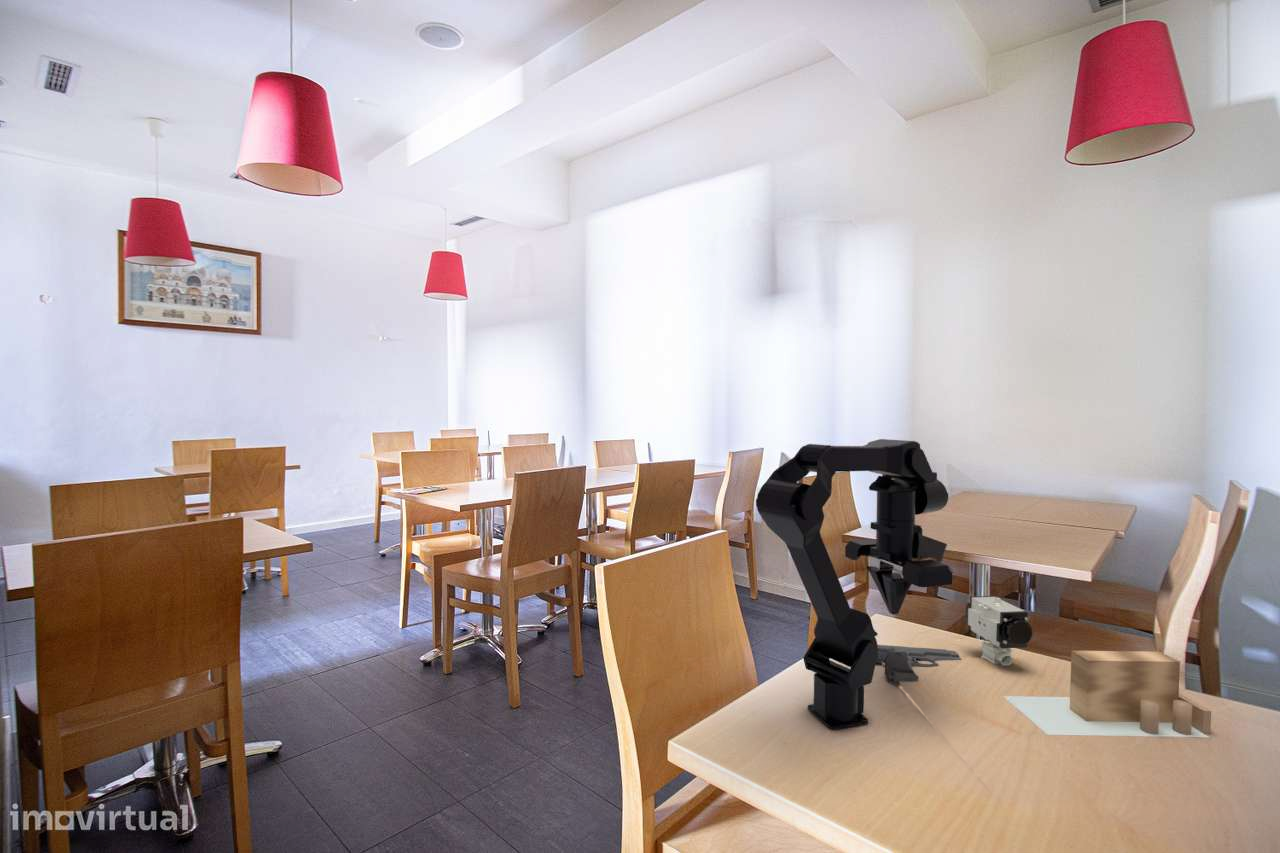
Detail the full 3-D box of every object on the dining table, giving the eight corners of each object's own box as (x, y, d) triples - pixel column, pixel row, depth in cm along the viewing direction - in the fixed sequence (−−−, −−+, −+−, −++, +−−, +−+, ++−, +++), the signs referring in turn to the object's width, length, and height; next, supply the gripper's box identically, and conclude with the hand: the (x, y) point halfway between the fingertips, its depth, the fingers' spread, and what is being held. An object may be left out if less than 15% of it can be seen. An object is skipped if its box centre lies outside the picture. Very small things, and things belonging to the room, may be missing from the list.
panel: (1047, 740, 85) (1048, 706, 85) (1002, 701, 96) (1003, 671, 95) (1216, 742, 84) (1218, 709, 84) (1152, 703, 95) (1153, 673, 95)
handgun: (989, 676, 100) (953, 645, 112) (890, 669, 101) (865, 639, 113) (987, 695, 100) (952, 662, 112) (888, 688, 101) (863, 656, 113)
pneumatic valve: (986, 649, 115) (988, 587, 115) (1032, 677, 104) (1034, 608, 103) (959, 651, 115) (960, 588, 114) (1002, 679, 103) (1004, 609, 103)
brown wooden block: (1086, 721, 88) (1088, 660, 88) (1069, 709, 92) (1071, 650, 91) (1177, 722, 88) (1179, 661, 87) (1157, 710, 91) (1159, 651, 91)
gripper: (983, 526, 91) (981, 629, 91) (897, 505, 108) (896, 591, 109) (921, 531, 87) (919, 637, 88) (843, 508, 105) (842, 597, 106)
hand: (893, 613), depth 98 cm, fingers closed
